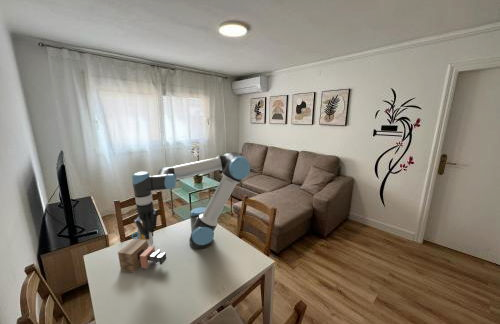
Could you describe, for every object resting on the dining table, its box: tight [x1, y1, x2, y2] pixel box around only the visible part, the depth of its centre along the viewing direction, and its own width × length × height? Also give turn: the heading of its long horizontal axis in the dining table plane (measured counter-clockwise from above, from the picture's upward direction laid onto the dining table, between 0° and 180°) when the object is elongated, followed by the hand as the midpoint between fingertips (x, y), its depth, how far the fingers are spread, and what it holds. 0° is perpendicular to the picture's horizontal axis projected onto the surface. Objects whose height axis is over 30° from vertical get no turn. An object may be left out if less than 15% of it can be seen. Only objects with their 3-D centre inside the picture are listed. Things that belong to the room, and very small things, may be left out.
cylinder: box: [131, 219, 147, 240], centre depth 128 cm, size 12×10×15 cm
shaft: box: [137, 249, 167, 266], centre depth 109 cm, size 18×5×5 cm, turn 79°
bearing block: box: [117, 239, 149, 273], centre depth 111 cm, size 8×12×11 cm, turn 169°
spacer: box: [140, 245, 156, 270], centre depth 110 cm, size 3×8×8 cm, turn 169°
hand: (150, 243), depth 107 cm, fingers closed
